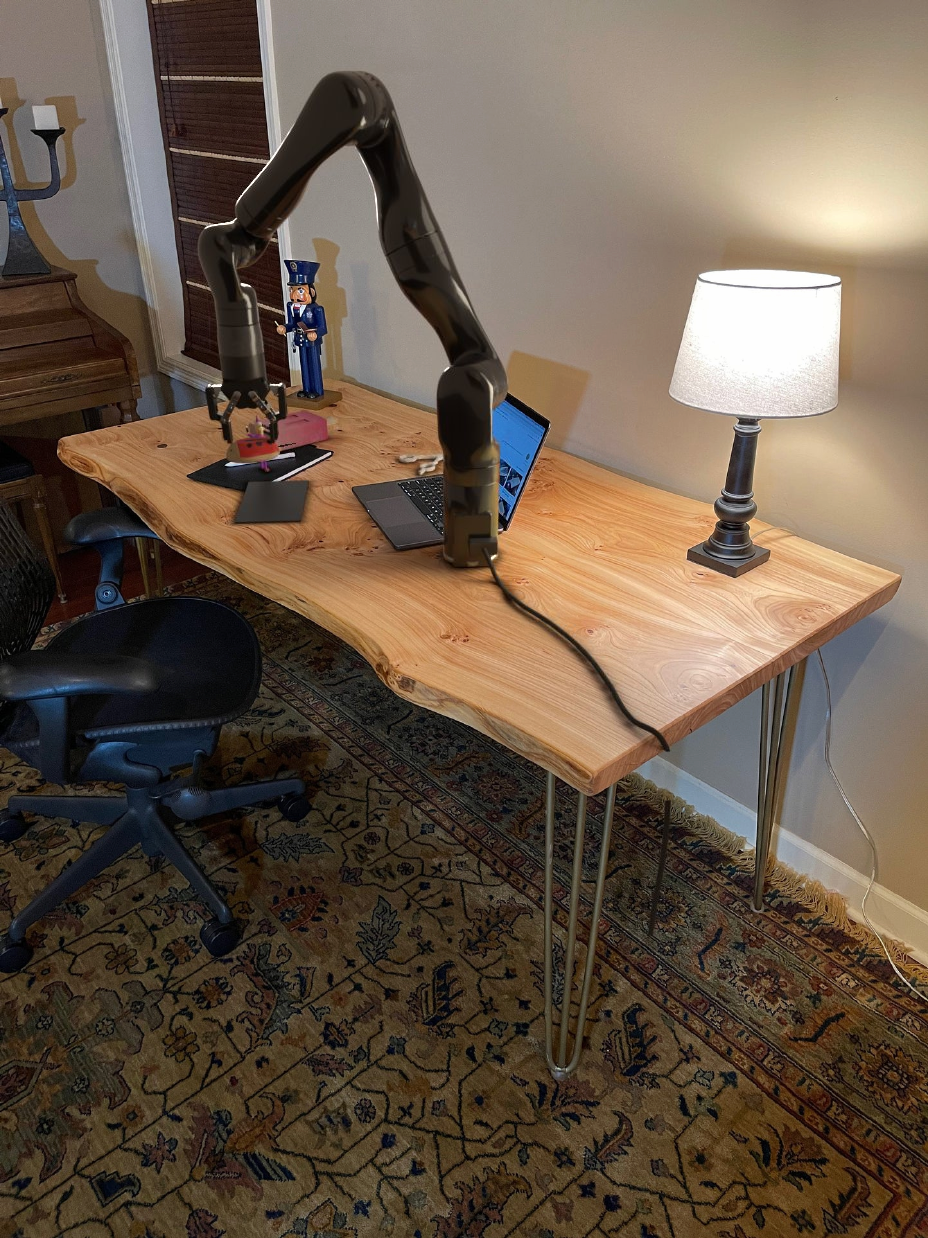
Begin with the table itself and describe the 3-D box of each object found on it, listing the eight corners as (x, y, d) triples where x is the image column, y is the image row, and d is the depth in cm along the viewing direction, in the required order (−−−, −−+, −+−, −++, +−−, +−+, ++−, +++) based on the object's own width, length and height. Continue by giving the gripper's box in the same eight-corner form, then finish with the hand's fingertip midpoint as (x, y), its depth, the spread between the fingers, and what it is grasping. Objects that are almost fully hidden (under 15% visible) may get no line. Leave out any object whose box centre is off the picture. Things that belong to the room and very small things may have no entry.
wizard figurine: (283, 476, 185) (277, 419, 179) (269, 480, 184) (263, 422, 178) (256, 461, 193) (249, 406, 187) (242, 465, 191) (235, 409, 185)
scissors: (391, 457, 193) (464, 438, 204) (391, 461, 193) (464, 442, 204) (420, 472, 186) (494, 451, 196) (420, 475, 186) (494, 454, 197)
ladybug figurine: (223, 456, 165) (221, 437, 164) (276, 449, 169) (274, 431, 167) (230, 468, 160) (228, 449, 158) (285, 461, 163) (283, 442, 162)
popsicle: (346, 414, 206) (270, 432, 195) (347, 434, 209) (272, 453, 197) (323, 405, 212) (248, 422, 201) (325, 425, 215) (250, 443, 203)
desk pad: (300, 521, 166) (300, 520, 165) (234, 523, 165) (234, 521, 165) (308, 481, 183) (308, 480, 183) (248, 483, 182) (248, 481, 182)
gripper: (194, 355, 151) (208, 449, 159) (281, 354, 152) (290, 448, 160) (202, 344, 157) (215, 436, 166) (285, 343, 158) (294, 434, 167)
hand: (252, 441), depth 163 cm, fingers closed on ladybug figurine, 7 cm apart
